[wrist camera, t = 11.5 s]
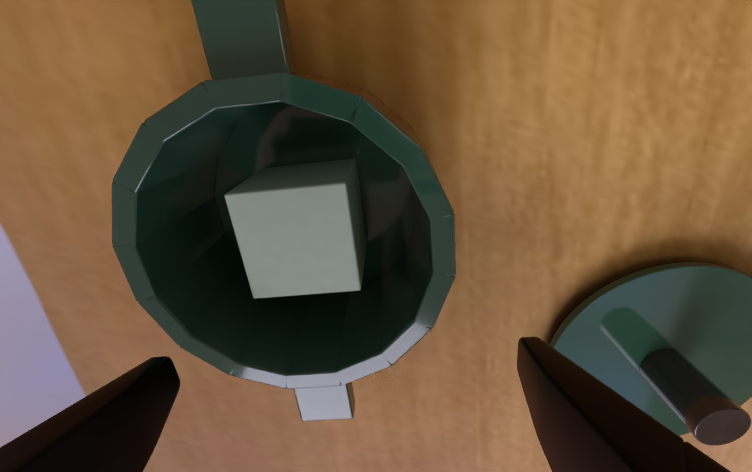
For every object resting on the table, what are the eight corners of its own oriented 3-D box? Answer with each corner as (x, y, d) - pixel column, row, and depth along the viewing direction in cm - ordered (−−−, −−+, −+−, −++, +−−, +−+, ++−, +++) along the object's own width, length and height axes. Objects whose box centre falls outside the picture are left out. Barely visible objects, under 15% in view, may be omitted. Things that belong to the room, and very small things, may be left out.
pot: (423, -11, 14) (448, -77, 8) (439, 331, 21) (459, 428, 15) (150, 26, 15) (-1, -11, 9) (248, 344, 22) (196, 441, 16)
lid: (800, 246, 18) (944, 302, 14) (731, 421, 23) (819, 508, 18) (547, 266, 19) (599, 325, 14) (532, 431, 24) (568, 516, 19)
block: (355, 157, 17) (345, 182, 13) (367, 244, 18) (361, 291, 14) (262, 167, 17) (222, 194, 13) (282, 252, 19) (252, 299, 15)
